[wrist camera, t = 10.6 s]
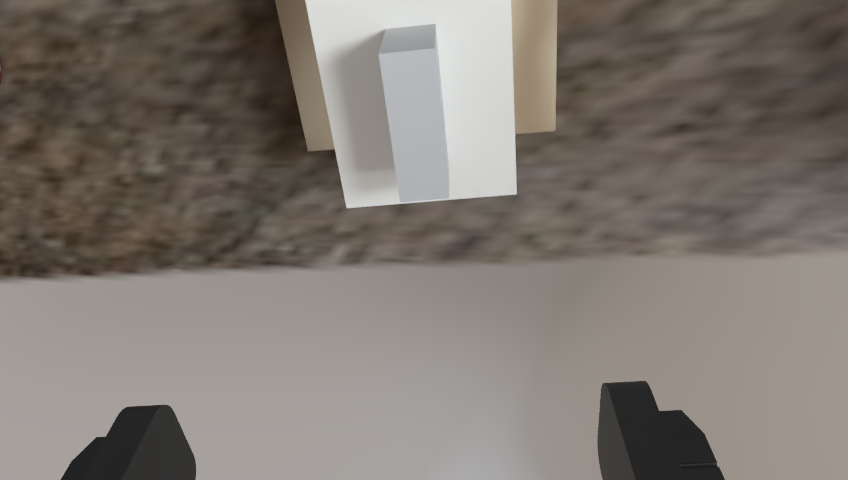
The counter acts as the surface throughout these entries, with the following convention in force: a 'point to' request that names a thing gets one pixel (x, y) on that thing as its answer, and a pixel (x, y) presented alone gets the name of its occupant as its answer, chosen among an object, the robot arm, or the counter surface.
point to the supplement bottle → (0, 71)
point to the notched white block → (418, 97)
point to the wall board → (530, 68)
